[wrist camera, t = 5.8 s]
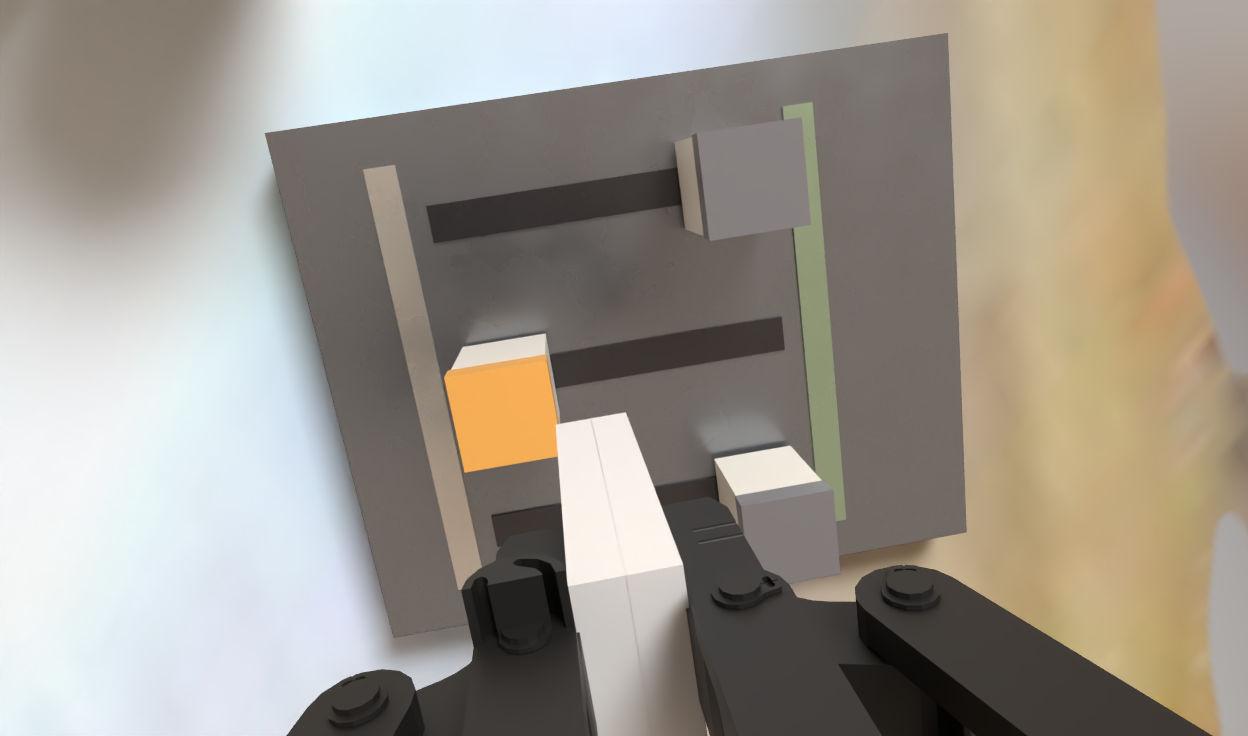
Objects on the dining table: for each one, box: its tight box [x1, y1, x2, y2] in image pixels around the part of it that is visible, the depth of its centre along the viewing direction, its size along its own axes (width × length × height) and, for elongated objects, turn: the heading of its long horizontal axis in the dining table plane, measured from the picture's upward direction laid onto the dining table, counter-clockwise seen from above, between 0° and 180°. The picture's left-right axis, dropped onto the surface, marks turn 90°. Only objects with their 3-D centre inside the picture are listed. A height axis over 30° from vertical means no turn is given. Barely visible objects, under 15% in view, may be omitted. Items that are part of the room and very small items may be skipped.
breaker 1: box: [674, 117, 811, 241], centre depth 23 cm, size 3×3×4 cm
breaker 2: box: [714, 446, 840, 584], centre depth 26 cm, size 3×3×4 cm
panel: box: [265, 33, 967, 638], centre depth 27 cm, size 22×18×2 cm
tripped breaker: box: [444, 334, 560, 473], centre depth 24 cm, size 3×3×4 cm
